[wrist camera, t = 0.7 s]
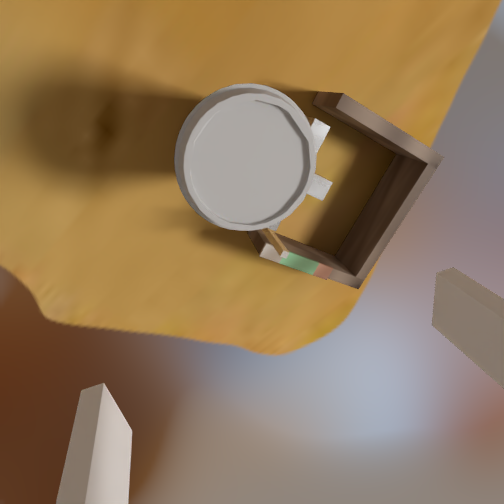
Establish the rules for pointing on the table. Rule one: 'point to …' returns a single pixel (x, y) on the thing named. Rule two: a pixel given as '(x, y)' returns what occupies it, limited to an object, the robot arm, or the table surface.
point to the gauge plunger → (315, 190)
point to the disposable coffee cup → (245, 157)
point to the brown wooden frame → (377, 208)
